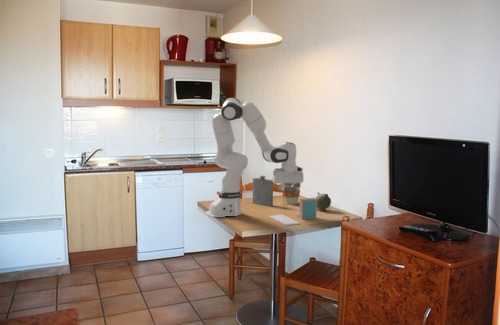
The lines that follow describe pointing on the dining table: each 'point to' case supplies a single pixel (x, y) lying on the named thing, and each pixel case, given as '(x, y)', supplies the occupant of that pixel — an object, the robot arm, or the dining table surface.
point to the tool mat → (284, 220)
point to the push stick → (288, 190)
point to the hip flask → (263, 191)
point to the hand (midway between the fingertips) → (287, 190)
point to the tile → (308, 208)
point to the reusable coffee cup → (292, 199)
